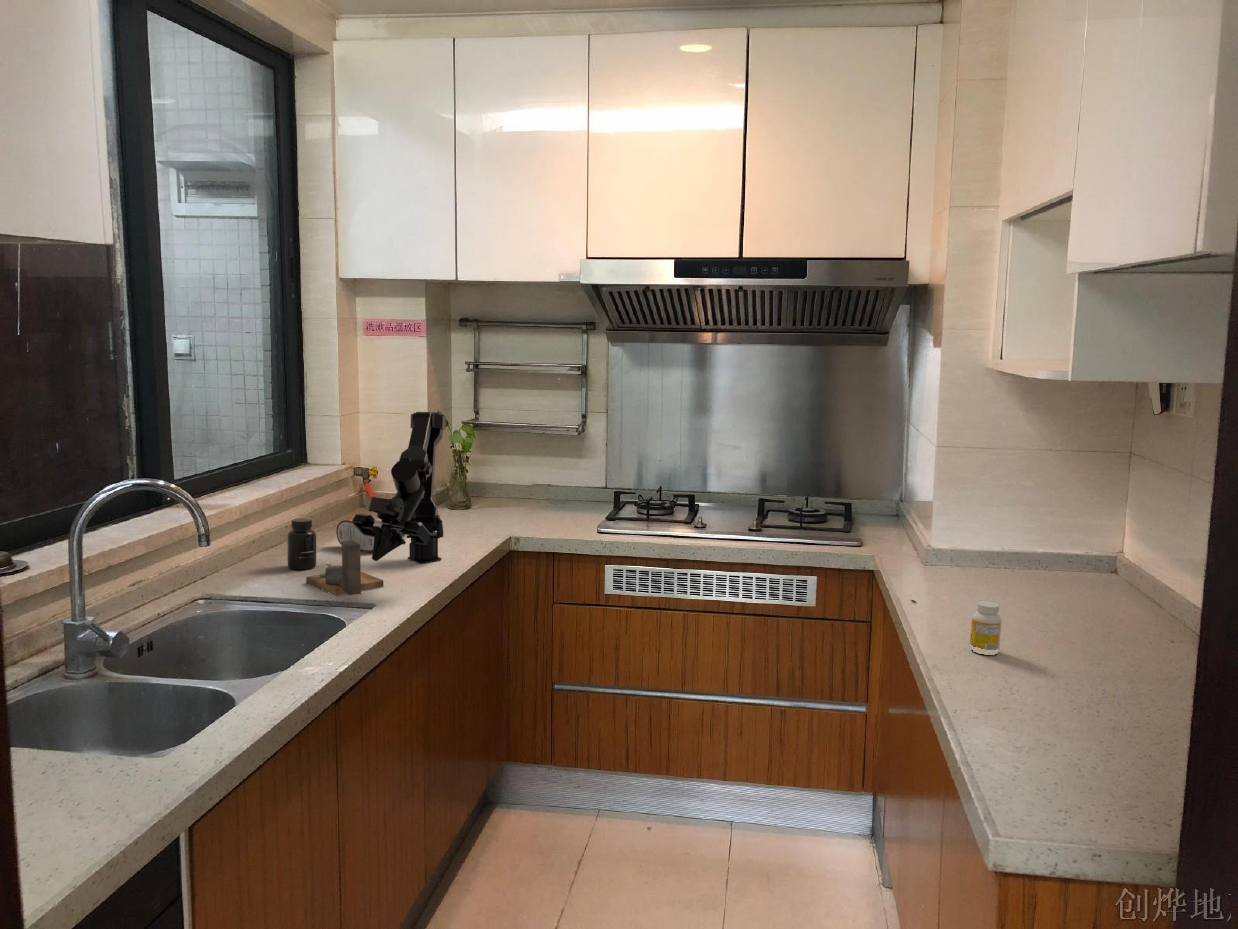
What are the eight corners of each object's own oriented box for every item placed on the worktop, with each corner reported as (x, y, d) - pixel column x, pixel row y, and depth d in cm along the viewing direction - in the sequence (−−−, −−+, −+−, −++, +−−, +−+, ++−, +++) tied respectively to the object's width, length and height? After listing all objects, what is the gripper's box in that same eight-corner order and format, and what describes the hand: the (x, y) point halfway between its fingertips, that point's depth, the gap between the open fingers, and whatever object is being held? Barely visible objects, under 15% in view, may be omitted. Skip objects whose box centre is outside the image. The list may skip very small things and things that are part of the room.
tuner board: (352, 574, 226) (352, 566, 226) (383, 586, 216) (383, 577, 216) (306, 583, 218) (306, 574, 217) (335, 596, 208) (335, 587, 208)
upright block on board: (316, 575, 218) (315, 529, 216) (337, 573, 220) (337, 527, 219) (344, 596, 202) (343, 546, 200) (366, 593, 205) (366, 544, 203)
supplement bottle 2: (993, 658, 178) (997, 610, 177) (965, 651, 181) (969, 604, 180) (1002, 651, 182) (1006, 604, 181) (975, 645, 186) (978, 598, 184)
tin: (386, 552, 249) (386, 521, 248) (379, 555, 246) (378, 523, 245) (342, 545, 255) (342, 515, 254) (334, 548, 252) (333, 517, 251)
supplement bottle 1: (307, 571, 228) (306, 523, 226) (282, 569, 229) (280, 521, 227) (322, 564, 234) (320, 518, 233) (297, 563, 236) (296, 516, 234)
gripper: (356, 479, 215) (323, 535, 207) (421, 487, 208) (390, 545, 199) (379, 506, 224) (348, 561, 216) (443, 515, 216) (414, 572, 208)
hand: (374, 560), depth 209 cm, fingers closed
